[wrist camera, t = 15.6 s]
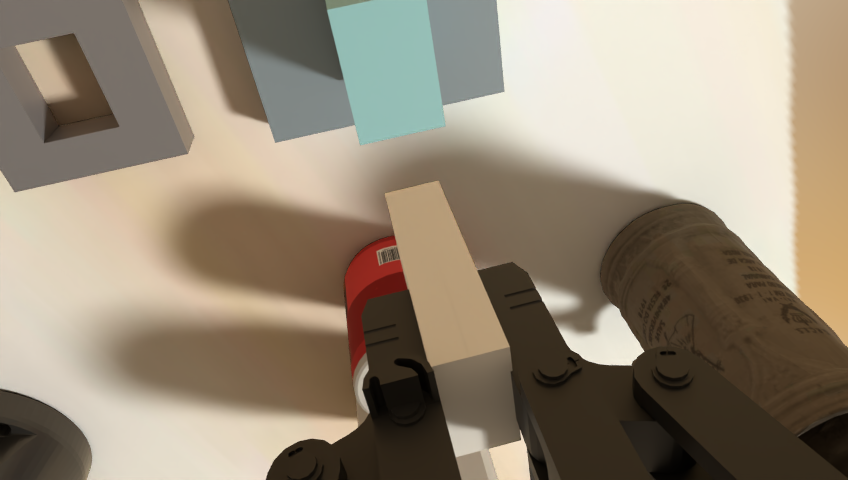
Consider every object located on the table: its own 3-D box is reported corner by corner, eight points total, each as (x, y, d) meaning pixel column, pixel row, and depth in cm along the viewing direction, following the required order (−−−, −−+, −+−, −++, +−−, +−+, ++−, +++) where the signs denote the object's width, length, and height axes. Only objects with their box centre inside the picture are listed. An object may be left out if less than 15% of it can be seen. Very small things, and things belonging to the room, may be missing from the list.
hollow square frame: (30, 172, 36) (14, 192, 34) (-73, 2, 31) (-100, 13, 29) (194, 136, 37) (188, 153, 35) (121, -38, 31) (109, -29, 29)
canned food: (321, 282, 45) (326, 394, 36) (396, 211, 42) (422, 311, 33) (393, 330, 48) (415, 441, 39) (466, 267, 46) (506, 370, 37)
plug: (345, 69, 36) (360, 145, 27) (319, -36, 33) (327, 10, 24) (409, 55, 37) (445, 126, 28) (390, -51, 33) (424, -11, 24)
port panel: (276, 126, 38) (275, 142, 35) (213, -68, 31) (207, -61, 29) (493, 78, 38) (504, 91, 36) (473, -121, 32) (486, -118, 30)
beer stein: (617, 196, 45) (788, 419, 29) (746, 190, 47) (972, 397, 31) (574, 339, 54) (687, 567, 38) (683, 330, 56) (833, 544, 40)
